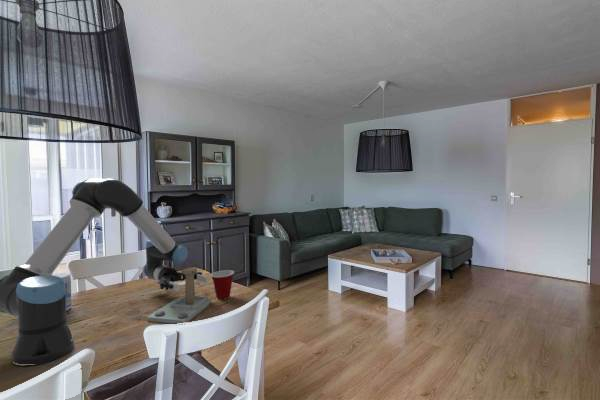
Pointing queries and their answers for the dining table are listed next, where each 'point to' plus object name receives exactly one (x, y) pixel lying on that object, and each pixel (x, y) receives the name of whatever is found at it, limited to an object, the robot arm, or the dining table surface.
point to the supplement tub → (67, 281)
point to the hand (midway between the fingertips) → (193, 283)
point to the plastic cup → (222, 283)
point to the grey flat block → (180, 310)
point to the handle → (189, 284)
